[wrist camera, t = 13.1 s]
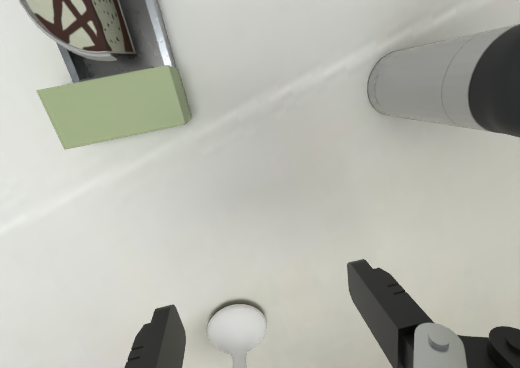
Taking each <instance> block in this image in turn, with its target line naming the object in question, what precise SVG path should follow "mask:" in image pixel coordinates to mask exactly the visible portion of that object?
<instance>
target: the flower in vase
mask: <svg viewBox="0 0 520 368" xmlns="http://www.w3.org/2000/svg"><path fill="white" fill-rule="evenodd" d="M266 328H267V322H266V318H265V316H264V315H263V314H262V313H261V312H260V311H259V310H258V309H256V308H255V307H253V306H250V305H246V304H234V305H230V306H227V307H225V308H223V309H221V310H219V311H218V312H217V313H216V314H215V315H214V316H213V317H212V318H211V320H210V321H209V323H208V326H207V334H208V337H209V340H210V342H211V343H212V345H213V346H214V347H216V348H217V349H219V350H220V351H222V352H224V353H228V354H231V356H232V359H233V368H247V365H246V353H247V352H248V351H250V350H251V349H253V348H254V347H256V346H257V345H258V344H259V343H260V341H261V340H262V339H263V337H264V335H265V332H266Z"/></svg>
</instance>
